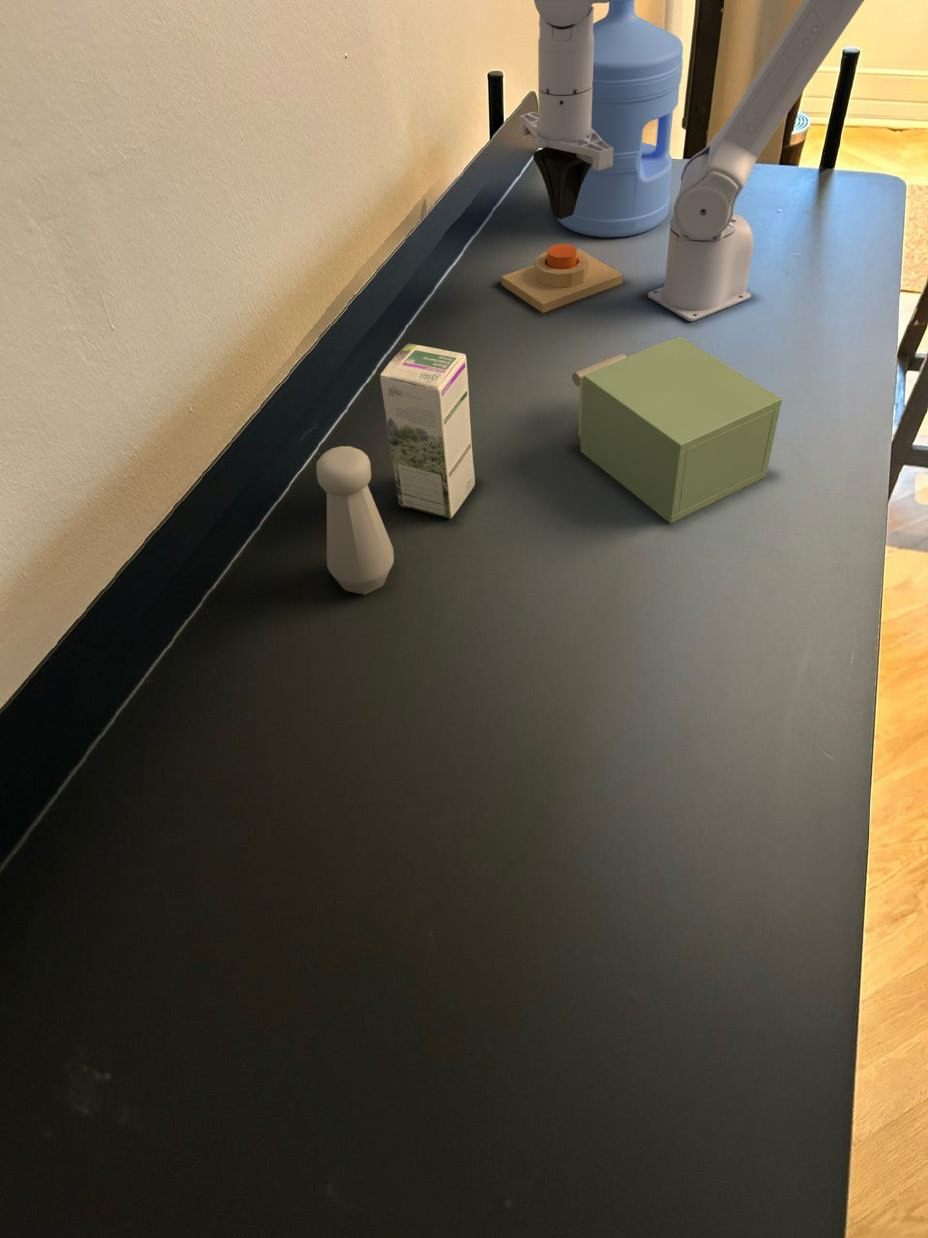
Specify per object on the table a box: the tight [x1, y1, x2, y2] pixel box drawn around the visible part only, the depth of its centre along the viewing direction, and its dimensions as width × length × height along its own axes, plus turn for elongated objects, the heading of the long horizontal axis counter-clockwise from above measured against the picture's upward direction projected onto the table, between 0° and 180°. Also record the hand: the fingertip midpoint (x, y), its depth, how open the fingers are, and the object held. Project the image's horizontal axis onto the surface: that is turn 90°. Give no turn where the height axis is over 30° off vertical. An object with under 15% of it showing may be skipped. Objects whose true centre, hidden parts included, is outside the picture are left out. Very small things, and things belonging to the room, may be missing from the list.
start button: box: [546, 243, 578, 269], centre depth 116 cm, size 4×4×2 cm
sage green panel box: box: [580, 335, 783, 524], centre depth 89 cm, size 14×12×9 cm
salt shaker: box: [316, 445, 395, 596], centre depth 78 cm, size 6×6×13 cm
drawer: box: [571, 341, 665, 438], centre depth 91 cm, size 17×10×7 cm, turn 32°
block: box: [500, 248, 624, 314], centre depth 117 cm, size 12×9×3 cm
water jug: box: [556, 0, 684, 238], centre depth 121 cm, size 16×16×28 cm
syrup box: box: [379, 342, 476, 519], centre depth 85 cm, size 6×6×14 cm
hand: (563, 215), depth 110 cm, fingers closed
